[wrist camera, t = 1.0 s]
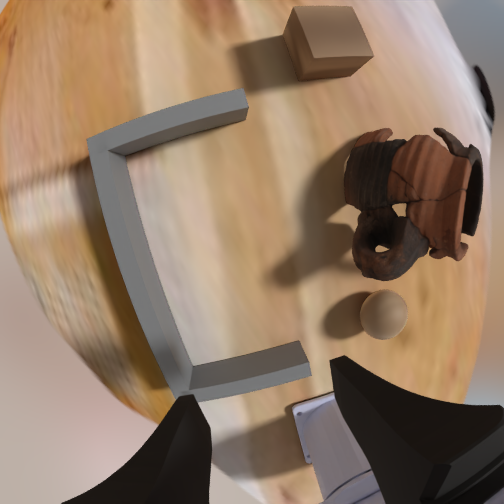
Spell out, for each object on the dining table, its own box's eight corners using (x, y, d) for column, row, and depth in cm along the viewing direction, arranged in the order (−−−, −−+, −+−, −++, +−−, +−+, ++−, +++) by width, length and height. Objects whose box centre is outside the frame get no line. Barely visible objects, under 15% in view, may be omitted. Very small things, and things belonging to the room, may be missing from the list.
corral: (301, 353, 21) (311, 375, 18) (183, 380, 21) (178, 405, 18) (241, 103, 17) (243, 88, 14) (106, 145, 17) (86, 139, 14)
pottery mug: (376, 99, 18) (479, 105, 12) (408, 186, 24) (487, 207, 17) (285, 216, 16) (421, 263, 10) (343, 294, 22) (432, 339, 16)
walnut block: (350, 76, 17) (374, 56, 13) (298, 81, 17) (314, 58, 13) (333, 32, 16) (351, 6, 12) (282, 35, 16) (293, 6, 12)
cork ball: (393, 318, 21) (417, 337, 18) (354, 332, 21) (374, 355, 17) (391, 277, 20) (416, 292, 17) (349, 291, 20) (370, 310, 17)
